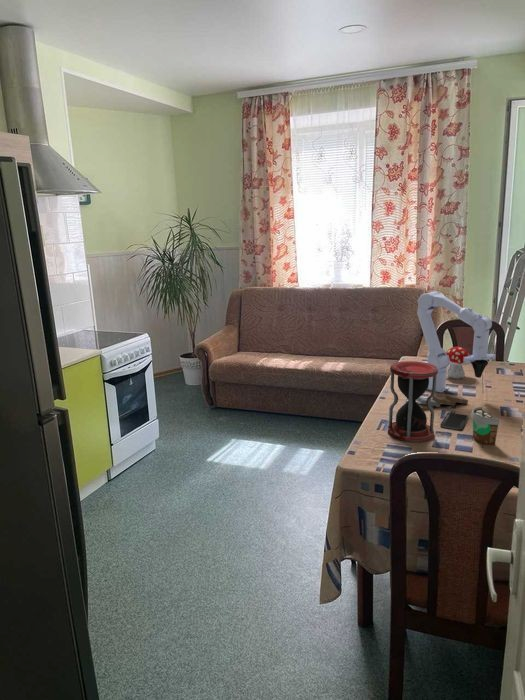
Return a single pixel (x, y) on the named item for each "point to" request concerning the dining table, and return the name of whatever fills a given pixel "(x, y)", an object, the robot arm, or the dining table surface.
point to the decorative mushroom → (457, 362)
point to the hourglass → (412, 401)
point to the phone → (454, 421)
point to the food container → (484, 426)
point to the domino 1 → (432, 402)
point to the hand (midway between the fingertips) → (477, 376)
